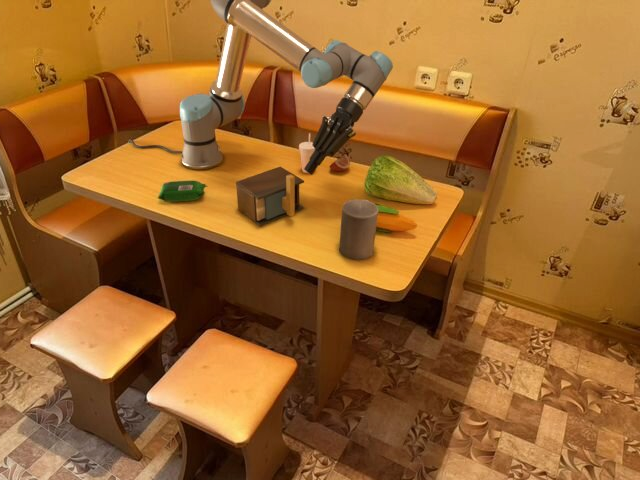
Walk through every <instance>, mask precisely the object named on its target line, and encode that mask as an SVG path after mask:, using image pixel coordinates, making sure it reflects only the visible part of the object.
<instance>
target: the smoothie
mask: <svg viewBox="0 0 640 480" xmlns="http://www.w3.org/2000/svg"><path fill="white" fill-rule="evenodd" d="M313 142H314V141H313ZM313 142H312V141H311V132H309V133H308V141H304V142H303V141H302V142H300V143H299V144H298V149H299V154H300V155H299V156H300V162H301V163H300V164H301V171H302V172H303V173H305V174H309V173H308V172H307V171H305V170H304V168H305V167H306V165H307V164H308V162H309V161H310V157H311V155H312V154H313V152H314V151H315V148H314V147H313V146H312V144H313Z"/></svg>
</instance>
